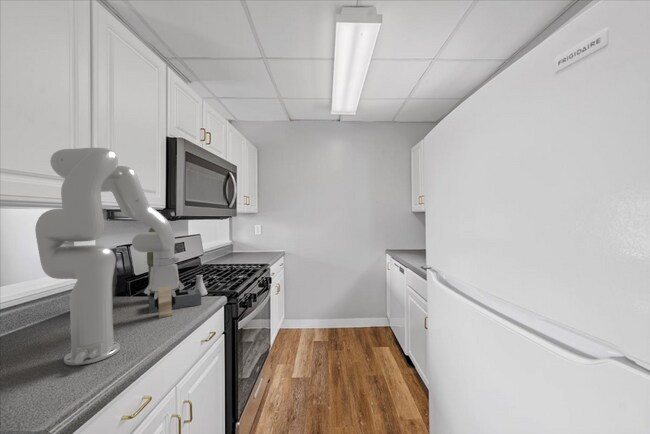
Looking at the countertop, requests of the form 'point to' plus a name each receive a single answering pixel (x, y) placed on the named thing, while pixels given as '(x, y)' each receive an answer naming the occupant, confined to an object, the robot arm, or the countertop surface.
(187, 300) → the rail
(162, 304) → the peg
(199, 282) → the flask
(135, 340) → the countertop surface
